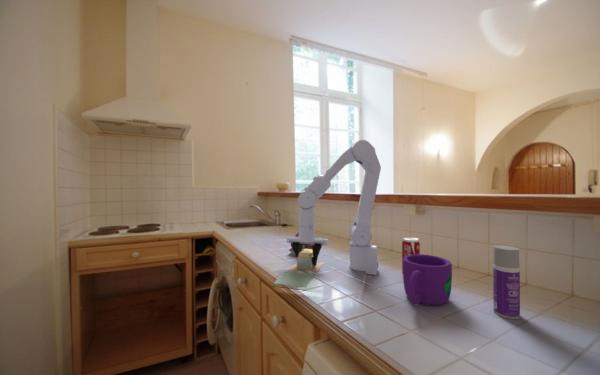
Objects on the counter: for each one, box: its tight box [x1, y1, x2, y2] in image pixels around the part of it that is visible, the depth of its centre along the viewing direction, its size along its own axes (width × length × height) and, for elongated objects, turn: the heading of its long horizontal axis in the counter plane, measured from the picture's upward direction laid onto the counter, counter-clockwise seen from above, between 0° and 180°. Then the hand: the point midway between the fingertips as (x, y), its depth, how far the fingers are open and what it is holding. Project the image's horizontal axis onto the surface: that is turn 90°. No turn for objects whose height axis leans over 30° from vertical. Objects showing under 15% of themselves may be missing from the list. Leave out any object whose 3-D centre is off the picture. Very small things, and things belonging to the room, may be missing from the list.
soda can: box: [401, 237, 421, 275], centre depth 82 cm, size 5×5×12 cm
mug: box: [402, 253, 453, 307], centre depth 64 cm, size 17×11×10 cm, turn 138°
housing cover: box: [298, 249, 313, 258], centre depth 90 cm, size 4×7×1 cm, turn 162°
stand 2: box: [273, 271, 316, 291], centre depth 78 cm, size 10×10×1 cm
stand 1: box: [289, 262, 325, 273], centre depth 90 cm, size 10×10×1 cm
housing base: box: [296, 255, 314, 270], centre depth 90 cm, size 5×8×4 cm, turn 162°
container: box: [492, 244, 521, 320], centre depth 58 cm, size 5×5×15 cm
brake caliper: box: [289, 231, 314, 257], centre depth 108 cm, size 11×11×12 cm
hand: (307, 264), depth 90 cm, fingers closed on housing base, 5 cm apart
